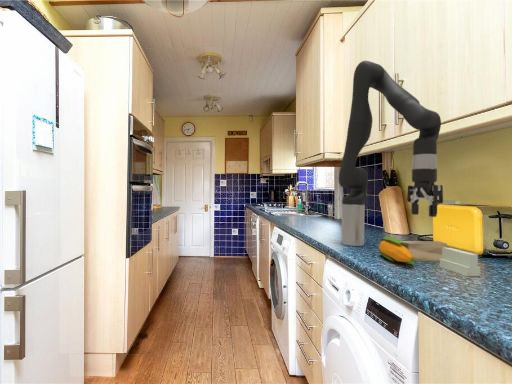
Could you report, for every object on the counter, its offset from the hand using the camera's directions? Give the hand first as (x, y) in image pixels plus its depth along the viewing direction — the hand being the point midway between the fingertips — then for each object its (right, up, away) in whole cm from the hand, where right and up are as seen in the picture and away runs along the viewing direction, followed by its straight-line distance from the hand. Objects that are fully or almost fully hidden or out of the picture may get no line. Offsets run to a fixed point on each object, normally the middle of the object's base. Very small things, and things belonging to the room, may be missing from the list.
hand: (423, 215), depth 102 cm
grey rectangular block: (+2, -15, -15) cm, 21 cm away
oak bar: (0, -15, 0) cm, 15 cm away
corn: (-11, -15, -3) cm, 19 cm away
